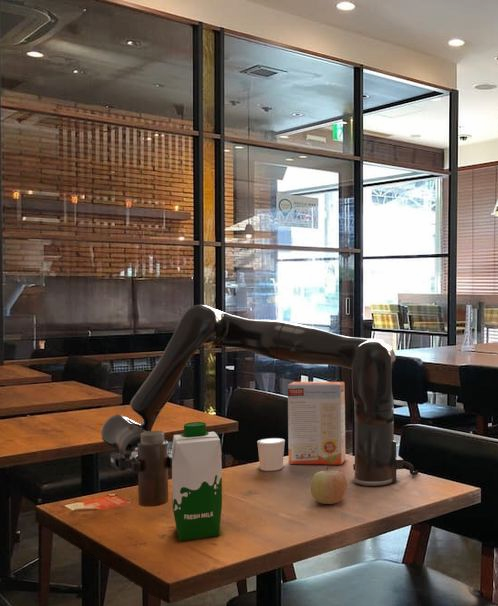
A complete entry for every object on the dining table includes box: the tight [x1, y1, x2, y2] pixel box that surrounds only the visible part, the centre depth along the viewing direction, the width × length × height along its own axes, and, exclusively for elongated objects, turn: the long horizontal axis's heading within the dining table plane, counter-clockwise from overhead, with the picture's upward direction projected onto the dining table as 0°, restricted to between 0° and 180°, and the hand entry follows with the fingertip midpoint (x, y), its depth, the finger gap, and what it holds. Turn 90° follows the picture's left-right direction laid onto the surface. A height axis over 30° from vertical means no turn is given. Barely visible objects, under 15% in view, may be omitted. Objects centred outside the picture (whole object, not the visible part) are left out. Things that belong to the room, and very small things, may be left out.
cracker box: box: [287, 381, 346, 466], centre depth 183 cm, size 14×6×21 cm, turn 84°
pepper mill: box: [137, 430, 169, 508], centre depth 141 cm, size 6×6×14 cm
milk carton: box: [171, 421, 223, 542], centre depth 131 cm, size 9×9×20 cm
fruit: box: [310, 465, 348, 505], centre depth 149 cm, size 8×7×8 cm
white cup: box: [256, 437, 286, 472], centre depth 178 cm, size 7×7×7 cm
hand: (155, 465), depth 138 cm, fingers closed on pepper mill, 5 cm apart
